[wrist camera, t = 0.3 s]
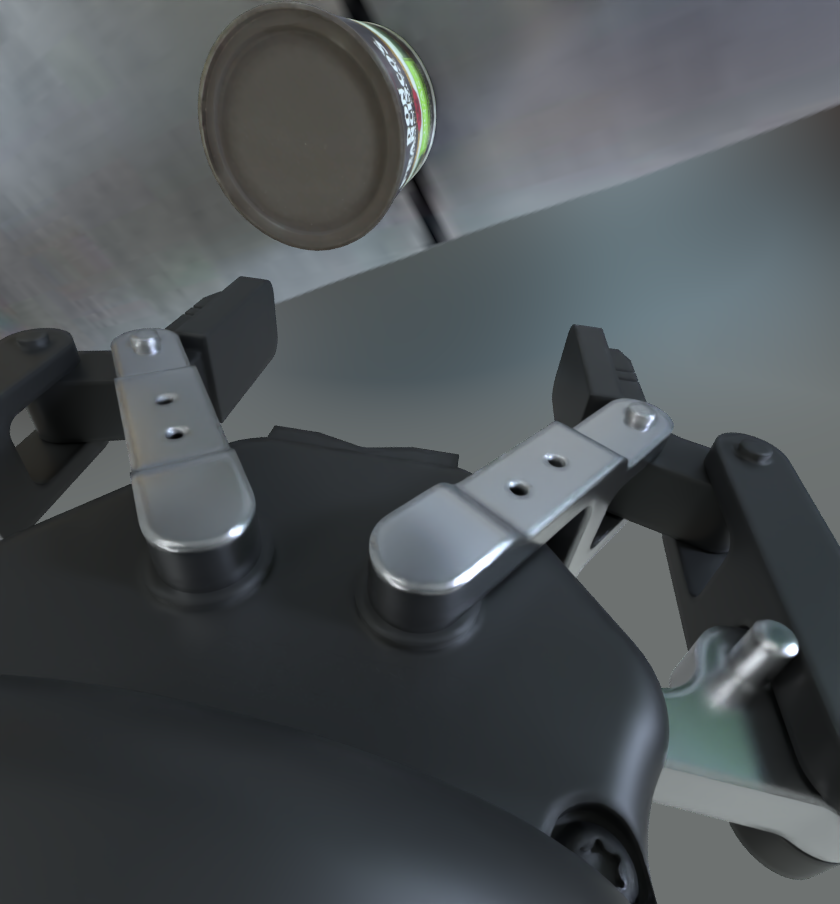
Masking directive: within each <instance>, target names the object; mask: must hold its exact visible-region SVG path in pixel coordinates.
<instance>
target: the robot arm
mask: <svg viewBox="0 0 840 904" xmlns="http://www.w3.org/2000/svg"><path fill="white" fill-rule="evenodd" d="M276 347H277V325H276V315H275V304H274V293H273V287H272V284H271V282H270V281H269V280H264V279H257V278H250V277H243V276H240V277H239V278H237V279H236V280H235V281H234V282H232V283H231V284H230V285H229V286H228V287H226V288H225V289H224V290H223V291H222V292H221V291H220V292H217V293H215V294H212V295H209V296H207V297H204V298H203V299H201V300H200V301H199V302H198V303H196V304H195V305H194V307H193V308H190V309H189V310H188V311H186V312H185V314H183V315H182V316H180V317H179V318H178V319H177V320H175V321H174V322H173V323H172V324H170V325H169V326H168V327H167V328H165V329H161V328H142V329H136V330H132V331H128V332H125V333H123V334H121V335H119V336H117V337H116V338H115V339H114V340H113V341H112V342H111V351H77V349H76V346H75V343H74V340H73V338H72V336H71V334H70V333H68V332H67V331H64V330H61V329H54V328H38V329H30V330H25V331H21V332H17V333H14V334H12V335H9V336H7V337H5V338H3V339H2V340H0V904H657V902H656V898H655V894H654V891H653V887H652V883H651V877H650V871H649V864H648V824H649V816H650V809H651V803H652V802H655V803H659V804H663V805H667V806H670V807H674V808H678V809H682V810H686V811H690V812H694V813H698V814H701V815H706V816H709V817H713V818H718V819H721V820H725V821H729V823H730V826H731V827H732V829H733V831H734V833H735V834H736V836H737V838H738V839H739V840H740V842H741V843H742V845H743V846H744V847H745V848H746V849H747V850H748V852H749V853H750V854H751V855H753V857H754V858H756V859H757V860H758V861H759V862H760V863H762V864H763V865H764V866H765V867H767V868H768V869H770V870H771V871H773V872H775V873H777V874H779V875H781V876H784V877H787V878H790V879H797V880H803V879H809V878H811V877H814V876H816V875H818V874H820V873H823V872H825V871H827V870H829V869H831V868H834V867H836V866H838V865H840V546H839V545H838V543H837V541H836V539H835V538H834V536H833V534H832V533H831V531H830V529H829V528H828V526H827V524H826V522H825V521H824V519H823V517H822V516H821V514H820V512H819V511H818V509H817V507H816V505H815V504H814V502H813V500H812V499H811V497H810V495H809V494H808V492H807V490H806V488H805V487H804V485H803V483H802V482H801V480H800V479H799V476H798V475H797V473H796V471H795V470H794V468H793V466H792V464H791V463H790V461H789V460H788V458H787V457H786V456H785V455H784V454H783V453H782V452H781V451H780V450H779V449H777V448H776V447H774V446H773V445H771V444H769V443H768V442H766V441H763V440H761V439H759V438H756V437H753V436H750V435H746V434H741V433H724V434H721V435H719V436H718V437H717V438H716V440H715V442H714V443H713V445H712V447H711V448H709V447H706V446H703V445H700V444H697V443H694V442H691V441H688V440H685V439H683V438H680V437H678V436H676V435H673V434H672V433H671V432H672V430H673V427H674V424H673V421H672V419H671V418H670V417H669V415H668V414H667V413H665V412H664V411H663V410H661V409H660V408H658V407H656V406H654V405H652V404H650V403H647V402H646V400H645V397H644V394H643V392H642V389H641V387H640V384H639V382H638V379H637V376H636V374H635V373H634V372H635V371H634V369H633V366H632V363H631V361H630V360H629V359H628V358H627V357H626V356H625V355H624V354H623V353H622V352H621V351H619V350H618V349H610V348H609V347H608V345H607V341H606V338H605V335H604V333H603V329H602V328H596V327H589V326H582V325H575V324H574V325H572V326H571V328H570V331H569V333H568V337H567V340H566V343H565V347H564V350H563V353H562V357H561V360H560V364H559V367H558V370H557V374H556V377H555V381H554V386H553V393H552V402H553V411H554V420H555V421H554V422H552V423H551V424H549V425H547V426H546V427H544V428H543V429H541V430H540V431H538V432H537V433H535V434H533V435H532V436H530V437H529V438H527V439H526V440H524V441H523V442H521V443H520V444H518V445H517V446H515V447H513V448H512V449H510V450H509V451H507V452H506V453H504V454H502V455H501V456H499V457H498V458H496V459H495V460H493V461H492V462H490V463H489V464H487V465H485V466H484V467H482V468H481V469H479V470H478V471H476V472H475V473H473V474H472V473H470V472H468V471H466V470H463V469H461V468H458V459H459V455H458V454H451V453H446V452H439V451H433V450H427V449H420V448H414V447H394V448H393V447H388V448H386V447H385V448H366V447H360V446H357V445H354V444H351V443H348V442H345V441H343V440H339V439H337V438H334V437H331V436H328V435H325V434H322V433H319V432H312V431H307V430H300V429H294V428H288V427H282V426H274V428H273V429H272V431H271V432H270V434H269V435H268V437H260V438H250V439H244V440H238V441H235V442H230V443H228V441H227V439H226V436H225V434H224V431H223V429H222V427H221V424H220V423H223V421H224V420H225V419H226V418H227V416H228V415H229V414H230V412H231V411H232V410H233V409H234V407H235V406H236V405H237V403H238V402H239V401H240V400H241V398H242V397H243V396H244V394H245V393H246V392H247V390H248V389H249V388H250V387H251V385H252V384H253V383H254V381H255V380H256V379H257V377H258V376H259V375H260V374H261V372H262V371H263V370H264V369H265V367H266V366H267V364H268V363H269V362H270V361H271V360H272V358H273V357H274V355H275V352H276ZM24 408H26V410H27V412H28V414H29V416H30V418H31V421H32V422H33V424H34V427H35V429H36V430H34V432H32V433H31V434H30V435H29V436H28V437H26V438H25V439H24V440H23V441H22V442H21V443H20V444H19V445H17V446H16V447H15V446H14V444H13V442H12V440H11V438H10V425H11V422H12V420H13V419H14V417H15V416H16V415H17V414H18V413H19V412H21V411H22V410H23V409H24ZM114 440H126V445H127V450H128V455H129V460H130V465H131V473H130V478H131V484H129V485H127V486H125V487H122V488H120V489H118V490H115V491H113V492H111V493H108V494H106V495H103V496H101V497H99V498H96V499H94V500H92V501H89V502H87V503H85V504H83V505H80V506H78V507H75V508H73V509H71V510H68V511H66V512H64V513H62V514H59V515H57V516H54V517H52V518H50V519H48V520H45V521H43V522H40V523H38V524H36V525H35V523H36V522H37V521H38V520H39V519H40V518H41V517H42V516H43V515H44V513H46V511H47V510H48V509H49V508H50V507H51V506H52V505H53V504H54V503H55V502H56V500H57V499H58V498H59V497H60V496H61V495H62V494H63V493H64V492H65V491H66V490H67V488H68V487H69V486H70V485H71V484H72V483H73V482H74V481H75V480H76V479H77V478H78V476H79V475H80V474H81V473H82V472H83V471H84V470H85V469H86V468H87V467H88V465H89V464H90V463H91V462H92V461H93V460H94V459H95V458H96V457H97V456H98V455H99V453H100V452H101V451H102V450H103V449H104V448H105V447H106V445H107V444H108V441H114ZM628 520H629V521H631V522H634V523H636V524H639V525H642V526H644V527H647V528H649V529H652V530H654V531H657V532H659V533H662V539H663V544H664V548H665V552H666V557H667V561H668V565H669V570H670V574H671V579H672V583H673V587H674V592H675V596H676V600H677V605H678V609H679V614H680V618H681V622H682V626H683V631H684V635H685V639H686V644H687V648H688V653H687V654H686V655H685V656H684V657H683V659H682V660H681V661H680V662H679V664H678V665H677V666H676V668H675V669H674V670H673V672H672V674H671V676H670V688H661V686H660V683H659V681H658V679H657V677H656V675H655V673H654V671H653V669H652V667H651V666H650V664H649V663H648V661H647V659H646V658H645V656H644V655H643V653H642V652H641V651H640V650H639V648H638V647H637V646H636V645H635V644H634V642H633V641H632V640H631V639H630V638H629V637H628V636H627V634H626V633H625V632H624V631H623V630H622V629H621V628H620V627H619V625H617V623H616V622H615V621H614V620H613V619H612V618H611V616H610V615H609V614H608V613H607V612H606V611H605V610H604V609H603V607H602V606H601V605H600V604H599V603H598V602H597V601H596V600H595V598H594V597H593V596H592V595H591V594H590V593H589V592H588V591H587V590H586V588H585V587H584V586H583V585H582V584H581V583H580V582H579V581H578V579H577V578H576V577H577V575H578V574H579V573H580V571H581V570H582V569H583V567H584V566H585V565H586V564H587V563H588V562H589V561H590V559H591V558H592V557H593V556H594V555H595V554H596V553H597V552H598V551H599V550H600V549H601V548H602V547H603V546H604V545H605V544H606V543H607V542H608V541H609V540H610V539H611V538H612V537H613V536H614V535H615V534H616V533H617V532H618V531H619V530H620V529H621V528H622V527H623V526H624V525H625V524H626V523H627V521H628Z"/></svg>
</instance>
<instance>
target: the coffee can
mask: <svg viewBox="0 0 840 904" xmlns="http://www.w3.org/2000/svg"><path fill="white" fill-rule="evenodd" d="M198 119H199V128H200V134H201V139H202V144H203V146H204V151H205V154H206V157H207V160H208V163H209V166H210V168H211V170H212V172H213V174H214V176H215V179H216V180H217V182H218V184H219V186H220V187H221V189H222V191H223V192H224V194H225V195H226V197H227V198H228V199H229V201H230V202H231V203H232V205H233V206H234V207H235V208H236V209H237V211H238V212H239V213H240V214H241V215H242V216H243V217H244V218H245V219H246V220H247V221H249V222H250V223H251V224H252V225H253V226H255V227H256V228H257V229H259V230H260V231H261V232H263V233H264V234H266V235H268V236H269V237H271V238H273V239H275V240H277V241H279V242H281V243H284V244H286V245H289V246H292V247H296V248H300V249H305V250H315V251H320V250H330V249H335V248H339V247H343V246H345V245H348V244H350V243H352V242H355V241H357V240H358V239H360V238H362V237H363V236H365V235H366V234H367V233H368V232H370V231H371V230H372V229H373V228H374V227H375V226H376V225H377V224H378V223H379V222H380V220H381V219H382V218H383V217H384V215H385V214H386V212H387V211H388V209H389V208H390V206H391V204H392V202H393V200H394V199H395V197H396V196H397V195H398V193H399V192H400V191H401V190H402V188H403V187H404V186H405V185H406V184H407V183H408V182H409V181H410V180H411V179H412V178H413V177H414V176H415V175H416V173H417V172H418V171H419V170H420V168H421V167H422V165H423V164H424V162H425V160H426V158H427V156H428V154H429V151H430V149H431V146H432V142H433V138H434V133H435V127H436V102H435V96H434V91H433V87H432V84H431V81H430V78H429V75H428V73H427V71H426V69H425V67H424V65H423V63H422V61H421V60H420V58H419V57H418V55H417V54H416V52H415V51H414V50H413V49H412V47H411V46H410V45H409V44H408V43H407V42H406V41H405V40H404V39H403V38H402V37H400V36H399V35H398V34H396V33H395V32H393V31H391V30H390V29H388V28H386V27H384V26H381V25H378V24H375V23H371V22H363V21H356V20H352V19H348V18H344V17H341V16H337V15H333V14H331V13H329V12H327V11H325V10H323V9H320V8H318V7H315V6H312V5H308V4H304V3H299V2H291V1H283V2H273V3H268V4H263V5H260V6H257V7H255V8H252V9H251V10H249V11H247V12H245V13H243V14H241V15H240V16H238V17H237V18H236V19H235V20H233V21H232V22H231V23H230V24H229V25H228V26H227V27H226V28H225V29H224V31H223V32H222V33H221V34H220V35H219V37H218V38H217V40H216V42H215V43H214V45H213V46H212V48H211V50H210V52H209V55H208V57H207V59H206V61H205V65H204V68H203V71H202V75H201V79H200V86H199V94H198Z"/></svg>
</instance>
